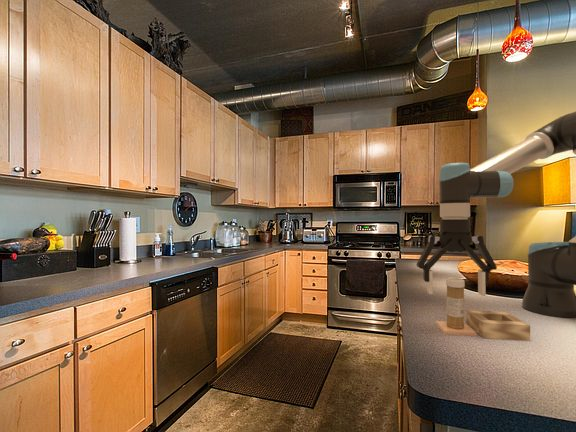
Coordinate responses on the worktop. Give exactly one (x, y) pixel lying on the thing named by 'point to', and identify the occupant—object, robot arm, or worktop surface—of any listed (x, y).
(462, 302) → the sprinkles bottle
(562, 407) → the worktop surface
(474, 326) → the socket block
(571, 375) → the worktop surface
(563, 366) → the worktop surface
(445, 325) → the terracotta tile
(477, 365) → the worktop surface
